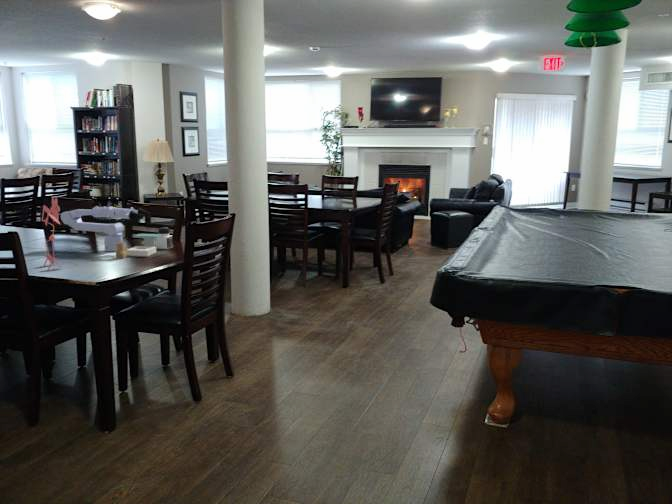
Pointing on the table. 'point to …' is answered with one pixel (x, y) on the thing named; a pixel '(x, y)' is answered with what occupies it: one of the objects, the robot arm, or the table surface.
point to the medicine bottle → (164, 239)
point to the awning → (148, 239)
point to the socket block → (141, 251)
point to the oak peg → (121, 250)
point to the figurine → (55, 217)
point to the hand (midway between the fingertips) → (146, 215)
